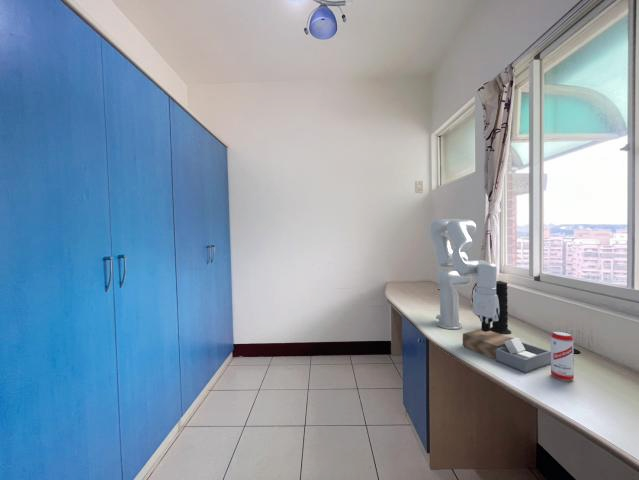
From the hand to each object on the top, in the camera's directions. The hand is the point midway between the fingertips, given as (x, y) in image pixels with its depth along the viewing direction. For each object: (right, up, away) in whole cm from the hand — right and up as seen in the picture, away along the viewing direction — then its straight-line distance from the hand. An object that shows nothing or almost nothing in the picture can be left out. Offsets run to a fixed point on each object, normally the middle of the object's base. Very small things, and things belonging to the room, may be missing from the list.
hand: (485, 330), depth 128 cm
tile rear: (+5, -3, -10) cm, 12 cm away
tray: (+7, -8, -14) cm, 18 cm away
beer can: (+12, -9, -26) cm, 30 cm away
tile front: (+7, -4, -16) cm, 18 cm away
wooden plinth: (+1, -8, -2) cm, 8 cm away
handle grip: (+20, -7, +21) cm, 30 cm away
